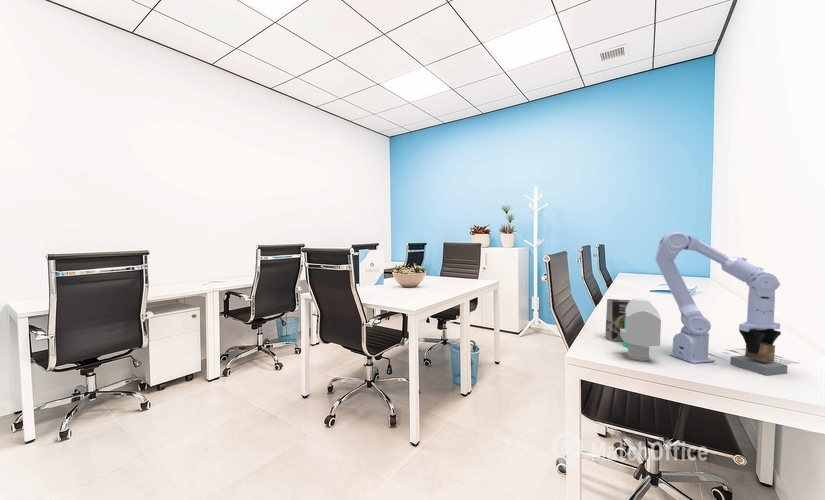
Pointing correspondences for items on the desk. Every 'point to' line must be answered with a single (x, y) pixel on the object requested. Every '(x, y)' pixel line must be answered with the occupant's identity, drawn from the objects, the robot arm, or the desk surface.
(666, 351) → the desk surface
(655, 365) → the desk surface
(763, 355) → the block
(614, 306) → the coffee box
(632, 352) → the light fixture
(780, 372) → the plinth
